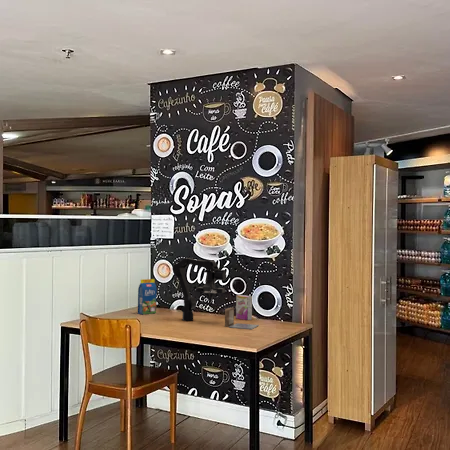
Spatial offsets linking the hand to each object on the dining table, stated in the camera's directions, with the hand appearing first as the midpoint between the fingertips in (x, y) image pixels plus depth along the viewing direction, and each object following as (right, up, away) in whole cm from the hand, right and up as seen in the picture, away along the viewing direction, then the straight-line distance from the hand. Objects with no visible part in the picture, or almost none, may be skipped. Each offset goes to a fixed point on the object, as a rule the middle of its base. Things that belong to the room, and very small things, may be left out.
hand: (210, 303), depth 380 cm
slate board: (+22, -13, -15) cm, 29 cm away
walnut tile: (+13, -13, -11) cm, 21 cm away
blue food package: (-47, -13, +36) cm, 61 cm away
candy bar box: (+23, -14, +18) cm, 33 cm away
